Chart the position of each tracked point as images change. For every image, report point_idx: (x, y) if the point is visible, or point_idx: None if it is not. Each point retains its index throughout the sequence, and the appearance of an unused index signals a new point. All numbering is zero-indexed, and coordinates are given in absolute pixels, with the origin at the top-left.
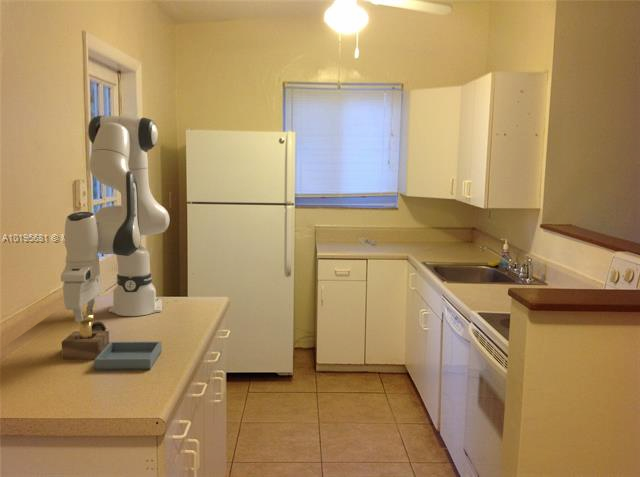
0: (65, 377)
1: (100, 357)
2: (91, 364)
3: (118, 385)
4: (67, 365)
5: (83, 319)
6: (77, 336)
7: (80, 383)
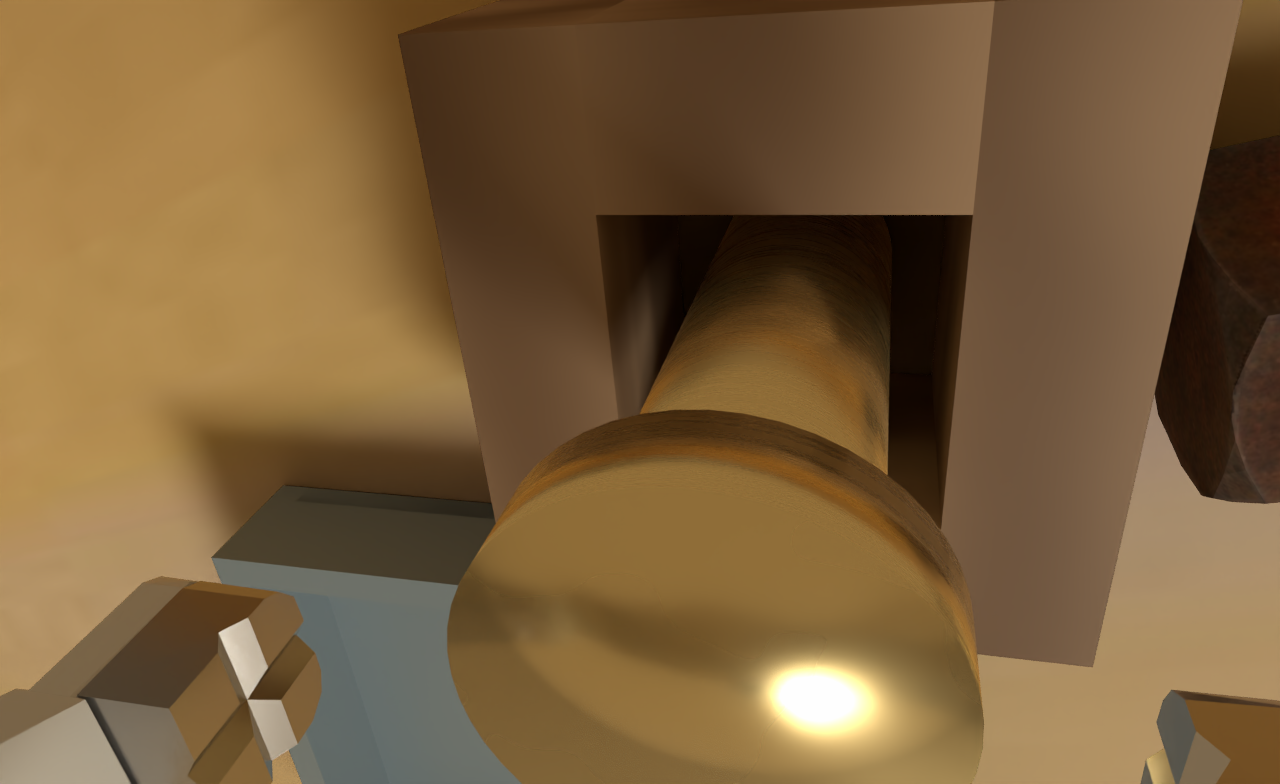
0: (54, 274)
1: (317, 584)
2: (416, 419)
3: None
4: (331, 167)
5: (306, 724)
6: (805, 208)
7: (13, 438)
